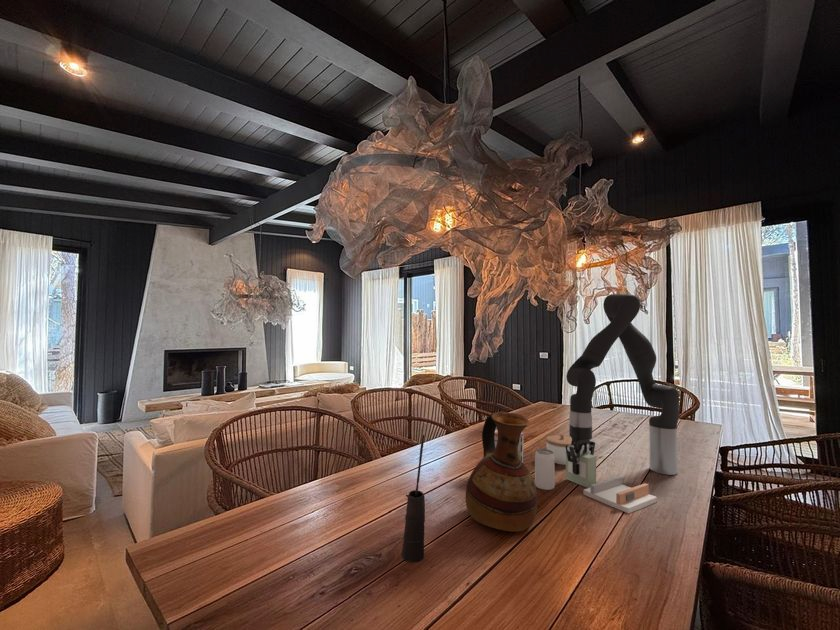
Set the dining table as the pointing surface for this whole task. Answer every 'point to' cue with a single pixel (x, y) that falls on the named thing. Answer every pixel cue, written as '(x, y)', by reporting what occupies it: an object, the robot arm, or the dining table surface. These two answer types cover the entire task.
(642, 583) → the dining table surface
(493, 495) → the ceramic pitcher
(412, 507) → the butter churn
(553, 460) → the can
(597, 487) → the shelf
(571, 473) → the carton
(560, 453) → the lidded bowl
